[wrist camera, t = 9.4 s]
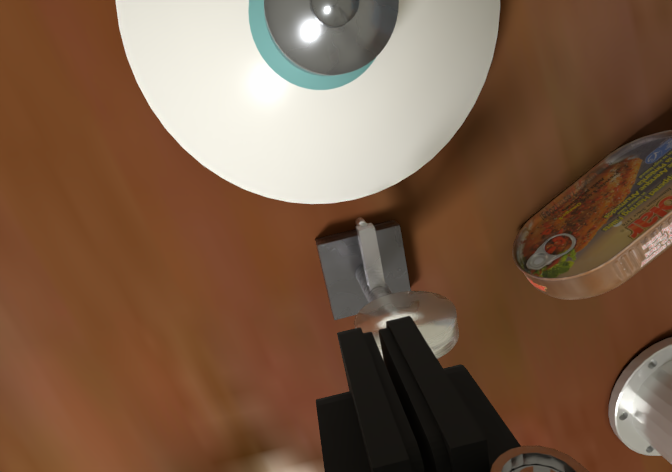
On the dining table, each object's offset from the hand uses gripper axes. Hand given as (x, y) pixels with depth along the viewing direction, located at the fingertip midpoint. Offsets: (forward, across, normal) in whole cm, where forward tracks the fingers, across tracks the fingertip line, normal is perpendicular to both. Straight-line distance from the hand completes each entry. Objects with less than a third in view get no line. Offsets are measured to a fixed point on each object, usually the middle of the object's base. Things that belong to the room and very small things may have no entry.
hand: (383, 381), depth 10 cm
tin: (+24, -20, +6) cm, 32 cm away
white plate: (+23, -2, -10) cm, 25 cm away
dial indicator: (+24, -3, +7) cm, 25 cm away
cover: (+20, -3, -10) cm, 23 cm away
